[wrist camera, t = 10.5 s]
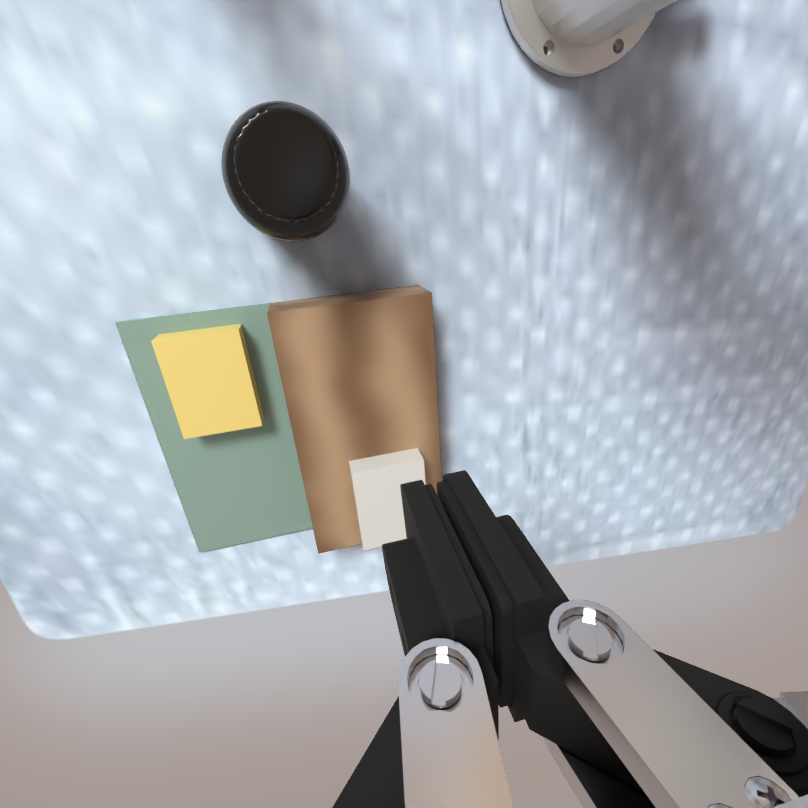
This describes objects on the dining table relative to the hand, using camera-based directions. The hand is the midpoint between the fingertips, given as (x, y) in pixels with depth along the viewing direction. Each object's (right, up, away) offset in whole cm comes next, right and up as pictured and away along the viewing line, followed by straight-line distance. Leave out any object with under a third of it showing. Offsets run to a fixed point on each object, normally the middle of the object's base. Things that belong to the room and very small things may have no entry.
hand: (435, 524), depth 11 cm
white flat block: (-2, -5, +27) cm, 28 cm away
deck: (-5, +2, +28) cm, 29 cm away
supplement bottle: (-9, +19, +20) cm, 29 cm away
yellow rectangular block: (-16, +4, +22) cm, 27 cm away
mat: (-15, 0, +26) cm, 30 cm away
